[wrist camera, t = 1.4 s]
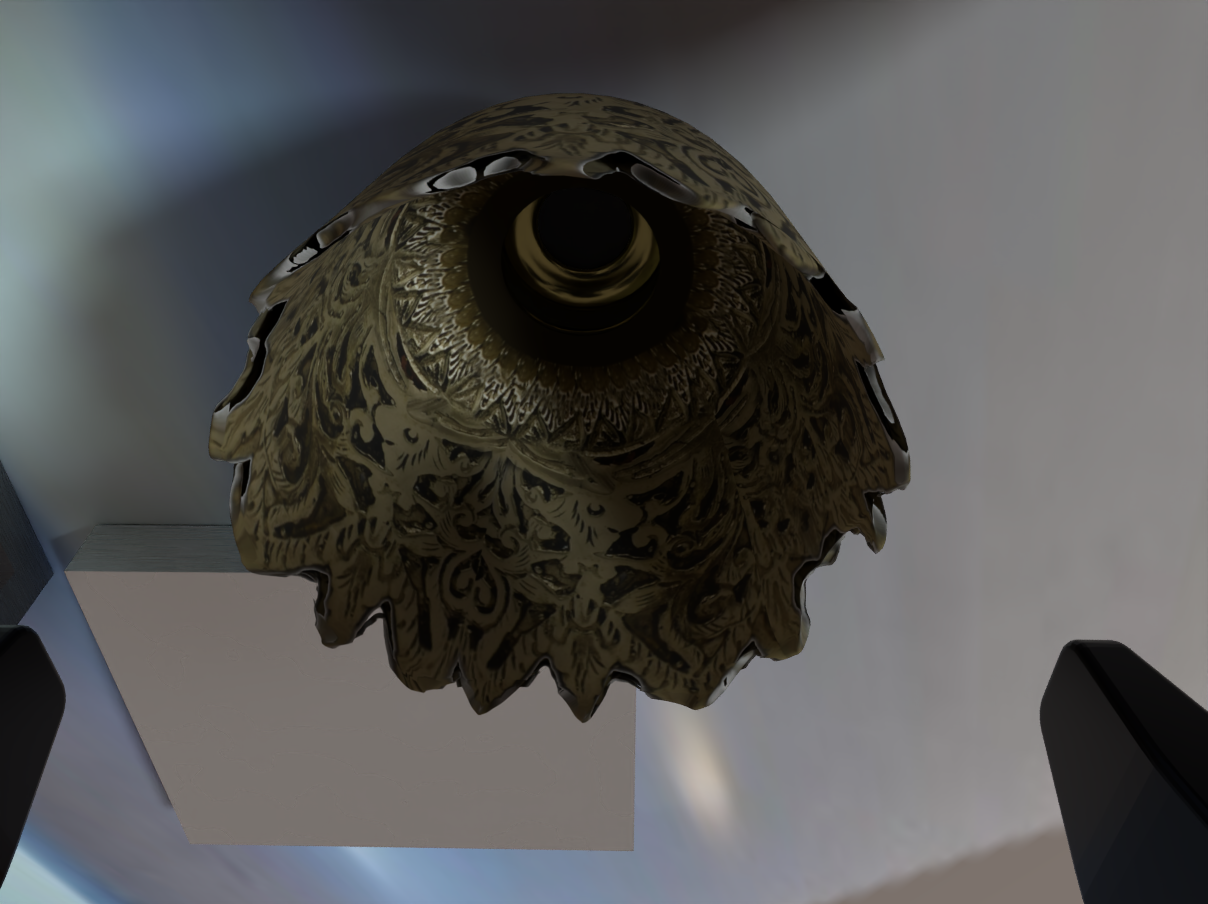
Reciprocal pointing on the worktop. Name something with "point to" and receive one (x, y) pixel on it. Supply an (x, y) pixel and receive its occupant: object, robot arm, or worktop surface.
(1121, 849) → the robot arm
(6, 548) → the press rail
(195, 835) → the flat plate
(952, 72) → the worktop surface
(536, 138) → the cup
